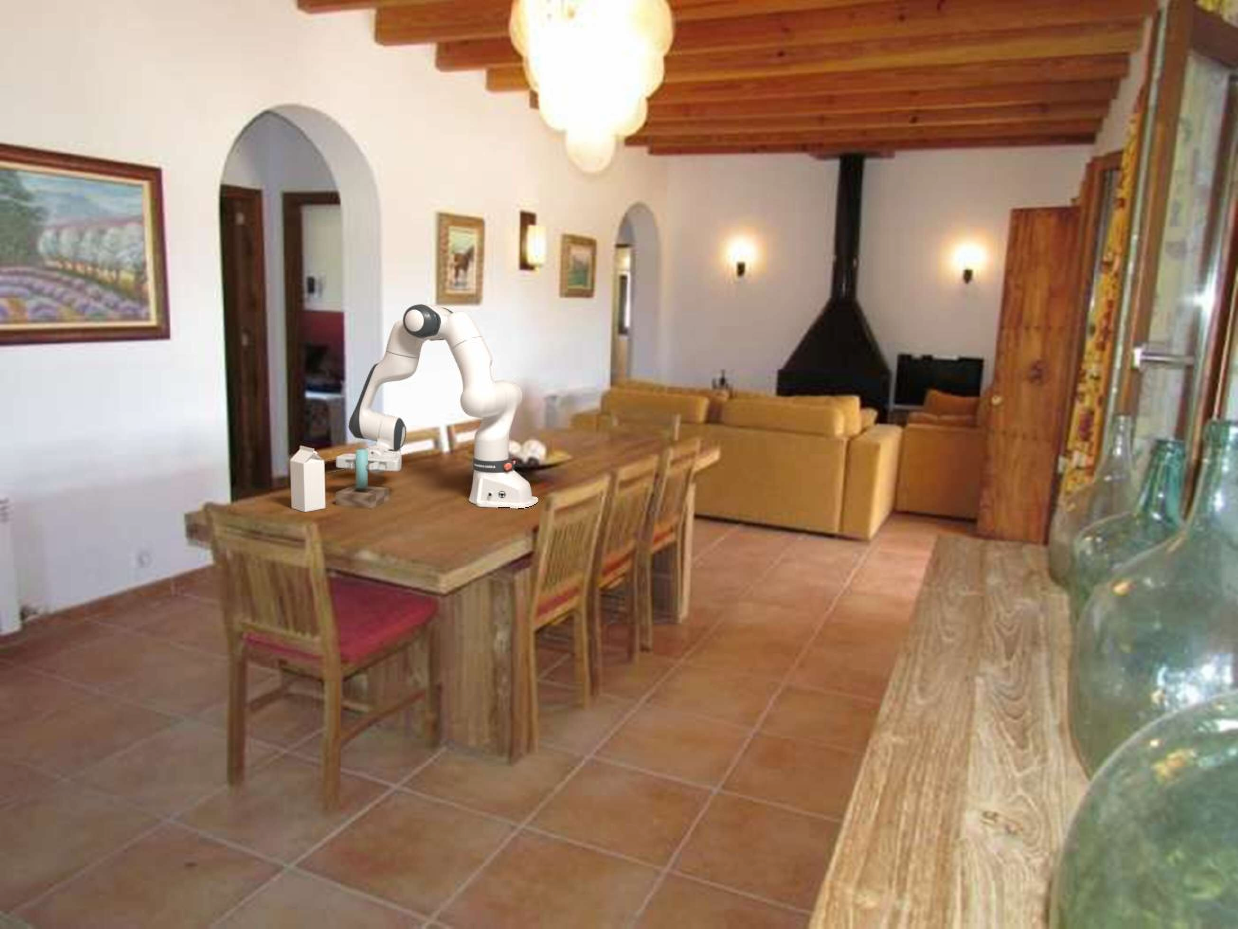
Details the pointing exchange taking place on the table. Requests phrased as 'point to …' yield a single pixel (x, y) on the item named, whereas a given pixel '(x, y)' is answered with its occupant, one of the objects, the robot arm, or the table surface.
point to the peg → (361, 468)
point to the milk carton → (307, 480)
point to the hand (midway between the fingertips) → (360, 467)
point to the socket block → (362, 496)
